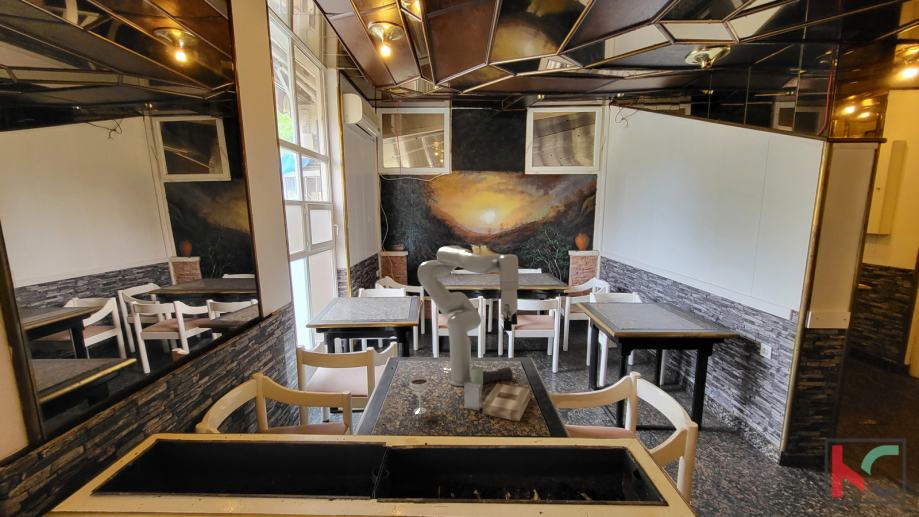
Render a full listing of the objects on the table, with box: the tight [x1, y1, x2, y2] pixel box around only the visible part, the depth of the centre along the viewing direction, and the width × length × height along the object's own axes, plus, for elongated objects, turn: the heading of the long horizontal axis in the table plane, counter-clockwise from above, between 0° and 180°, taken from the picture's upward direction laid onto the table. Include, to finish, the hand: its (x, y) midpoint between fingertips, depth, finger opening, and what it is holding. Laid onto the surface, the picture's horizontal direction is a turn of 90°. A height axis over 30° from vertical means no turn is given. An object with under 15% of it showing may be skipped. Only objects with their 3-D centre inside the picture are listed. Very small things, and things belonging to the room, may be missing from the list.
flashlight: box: [483, 366, 514, 385], centre depth 154 cm, size 15×5×5 cm, turn 108°
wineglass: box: [410, 376, 429, 415], centre depth 129 cm, size 7×7×12 cm
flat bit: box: [463, 382, 483, 412], centre depth 131 cm, size 6×3×9 cm, turn 66°
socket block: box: [481, 383, 531, 422], centre depth 132 cm, size 14×18×4 cm
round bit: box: [471, 366, 484, 392], centre depth 146 cm, size 5×5×9 cm
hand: (510, 327), depth 136 cm, fingers open, 9 cm apart
